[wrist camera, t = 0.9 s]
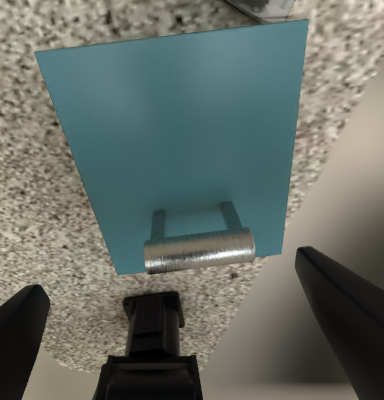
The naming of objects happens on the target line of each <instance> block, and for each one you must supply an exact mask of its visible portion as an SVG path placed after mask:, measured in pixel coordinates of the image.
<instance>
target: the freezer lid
mask: <svg viewBox="0 0 384 400" xmlns="http://www.w3.org/2000/svg"><path fill="white" fill-rule="evenodd" d="M308 22H309V20H308V19H303V20H295V21H286V22H278V23H270V24H261V25H253V26H245V27H236V28H228V29H220V30H211V31H203V32H195V33H186V34H178V35H170V36H161V37H153V38H145V39H136V40H128V41H120V42H111V43H103V44H95V45H86V46H78V47H70V48H61V49H53V50H45V51H36V52H34V54H35V57H36V59H37V62H38V65H39V67H40V70H41V73H42V75H43V78H44V81H45V83H46V86H47V89H48V91H49V94H50V97H51V99H52V102H53V105H54V107H55V110H56V113H57V115H58V118H59V121H60V123H61V126H62V129H63V131H64V134H65V136H66V139H67V142H68V144H69V147H70V150H71V152H72V155H73V158H74V160H75V163H76V166H77V168H78V171H79V174H80V176H81V179H82V182H83V184H84V187H85V190H86V192H87V195H88V198H89V200H90V203H91V206H92V208H93V211H94V214H95V216H96V219H97V222H98V224H99V227H100V230H101V232H102V235H103V238H104V240H105V243H106V246H107V248H108V251H109V254H110V256H111V259H112V262H113V264H114V267H115V270H116V272H117V275H124V274H132V273H140V272H147V274H158V273H166V272H173V271H181V270H189V269H196V268H204V267H212V266H219V265H227V264H235V263H243V262H250V261H254V260H255V257H263V256H271V255H278V254H281V252H282V244H283V235H284V227H285V218H286V210H287V201H288V193H289V184H290V176H291V167H292V159H293V150H294V142H295V133H296V124H297V116H298V107H299V99H300V90H301V82H302V73H303V65H304V56H305V48H306V39H307V31H308Z"/></svg>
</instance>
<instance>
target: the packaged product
mask: <svg viewBox="0 0 384 400" xmlns="http://www.w3.org/2000/svg"><path fill="white" fill-rule="evenodd" d="M226 1H228V2H229V3H231V4H232V5H234V6H236V7H237V8H239V9H240V10H242V11H243V12H245V13H246V14H248V15H249V16H251V17H252V18H254V19H255V20H257V21H258V22H260V23H261V24H270V23H278V22H284V21H286V20H287V17H288V15H289V13H290V11H291V8H292V6H293V4H294V3H295V1H296V0H226Z"/></svg>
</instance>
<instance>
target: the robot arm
mask: <svg viewBox="0 0 384 400" xmlns="http://www.w3.org/2000/svg"><path fill="white" fill-rule="evenodd" d="M295 269H296V272H297V275H298V277H299V280H300V282H301V285H302V287H303V289H304V292H305V294H306V297H307V299H308V302H309V304H310V306H311V309H312V311H313V313H314V316H315V317H316V319H317V321H318V323H319V325H320V327H321V329H322V331H323V333H324V335H325V336H326V338H327V340H328V342H329V344H330V346H331V348H332V350H333V351H334V353H335V355H336V357H337V359H338V361H339V363H340V364H341V366H342V368H343V370H344V372H345V374H346V376H347V378H348V380H349V381H350V383H351V385H352V387H353V389H354V391H355V393H356V395H357V396H358V398H359V400H384V290H383V289H382V288H380V287H378V286H377V285H375V284H373V283H371V282H370V281H368V280H366V279H365V278H363V277H362V276H360V275H358V274H356V273H355V272H353V271H351V270H350V269H348V268H346V267H344V266H343V265H341V264H339V263H338V262H336V261H335V260H333V259H331V258H329V257H328V256H326V255H324V254H323V253H321V252H319V251H318V250H316V249H314V248H313V247H310V246H306V247H300V248H298V249H297V253H296V260H295ZM122 304H123V307H124V309H125V312H126V314H127V317H128V319H129V322H130V324H129V330H128V337H127V343H126V350H125V356H114V355H109V356H108V360H107V363H106V364H104V365H102V368H101V373H100V377H99V381H98V385H97V388H96V391H95V394H94V396H93V399H92V400H203V396H202V390H201V384H200V377H199V371H198V365H197V359H196V355H190V356H180V339H179V328H183V327H184V326H185V323H184V318H183V313H182V308H181V303H180V298H179V294H178V293H177V292H170V293H162V294H155V295H147V296H139V297H132V298H125V299H124V300H123V303H122ZM49 308H50V299H49V297H48V295H47V294H46V292H45V291H44V289H43V288H42V286H41V285H39V284H34V285H28V286H25V287H24V288H23V289H21V290H20V291H19V292H18V293H16V294H15V295H14V296H13V297H11V298H10V299H9V300H8V301H7V302H5V303H4V304H3V305H2V306H0V400H21V399H22V397H23V394H24V391H25V388H26V386H27V383H28V380H29V377H30V374H31V371H32V369H33V366H34V363H35V360H36V357H37V354H38V351H39V347H40V344H41V340H42V336H43V332H44V328H45V324H46V320H47V316H48V312H49Z"/></svg>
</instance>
